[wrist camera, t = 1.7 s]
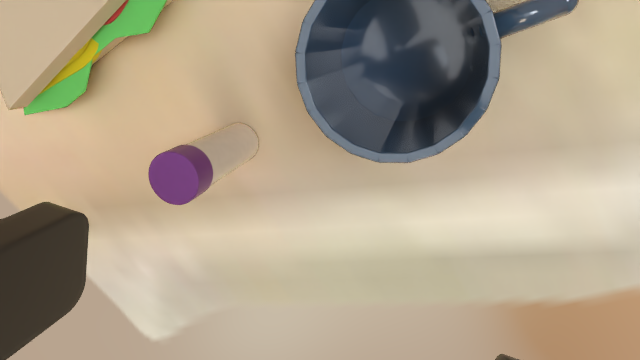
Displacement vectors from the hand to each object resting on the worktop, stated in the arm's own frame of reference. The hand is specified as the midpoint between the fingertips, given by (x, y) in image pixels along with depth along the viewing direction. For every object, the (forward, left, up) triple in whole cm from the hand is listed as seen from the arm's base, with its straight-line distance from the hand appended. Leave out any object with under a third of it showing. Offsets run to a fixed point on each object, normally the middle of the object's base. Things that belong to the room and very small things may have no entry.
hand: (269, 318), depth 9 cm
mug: (-1, +5, -24) cm, 24 cm away
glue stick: (-7, -9, -24) cm, 26 cm away
